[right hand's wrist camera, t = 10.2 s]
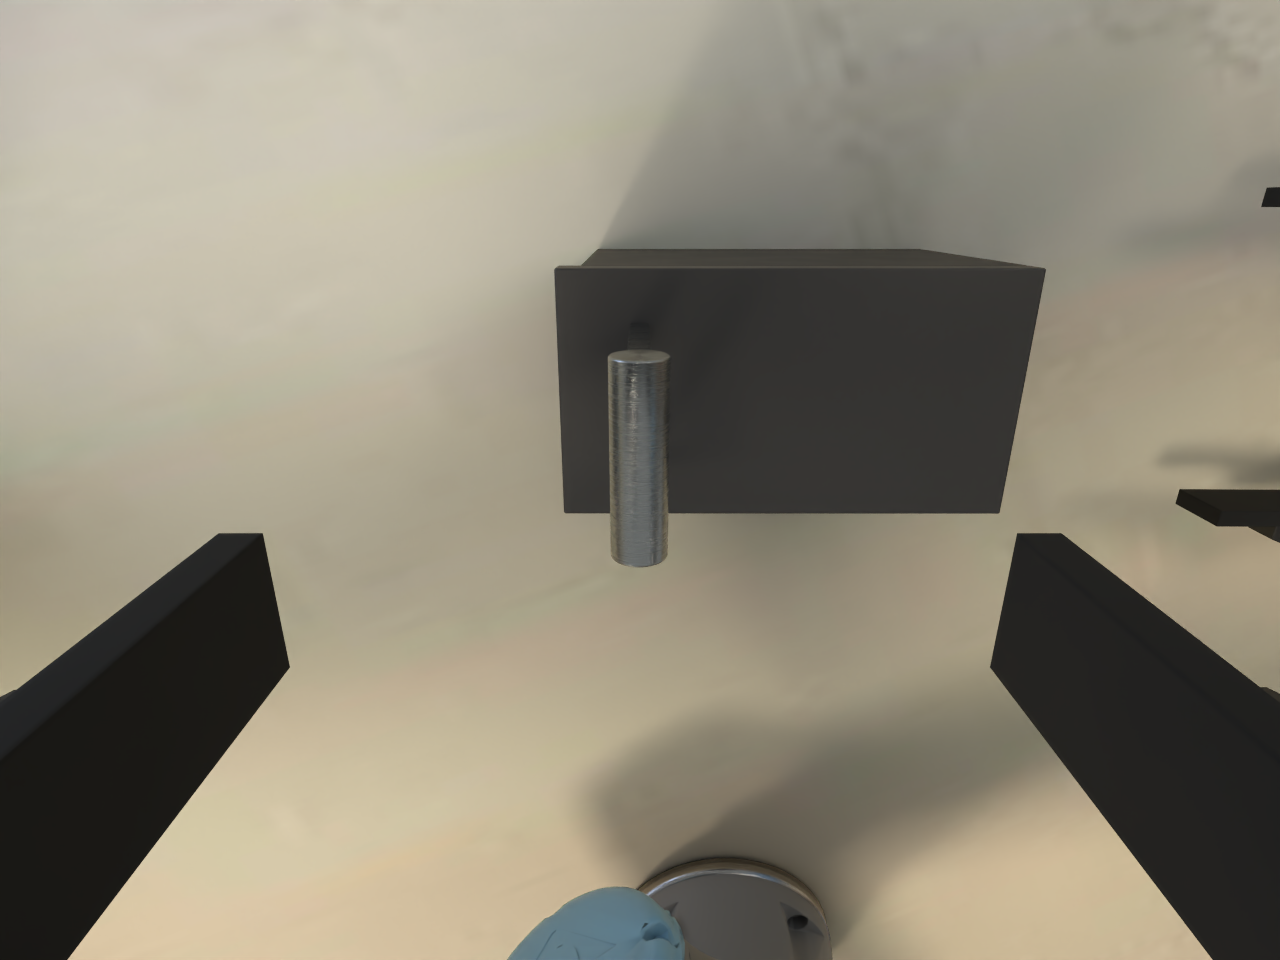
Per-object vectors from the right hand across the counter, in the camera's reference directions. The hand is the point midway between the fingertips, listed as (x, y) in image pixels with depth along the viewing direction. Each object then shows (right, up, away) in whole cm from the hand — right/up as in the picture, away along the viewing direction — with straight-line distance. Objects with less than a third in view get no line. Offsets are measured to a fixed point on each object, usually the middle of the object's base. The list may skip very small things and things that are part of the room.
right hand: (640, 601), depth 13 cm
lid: (+5, +6, +15) cm, 16 cm away
